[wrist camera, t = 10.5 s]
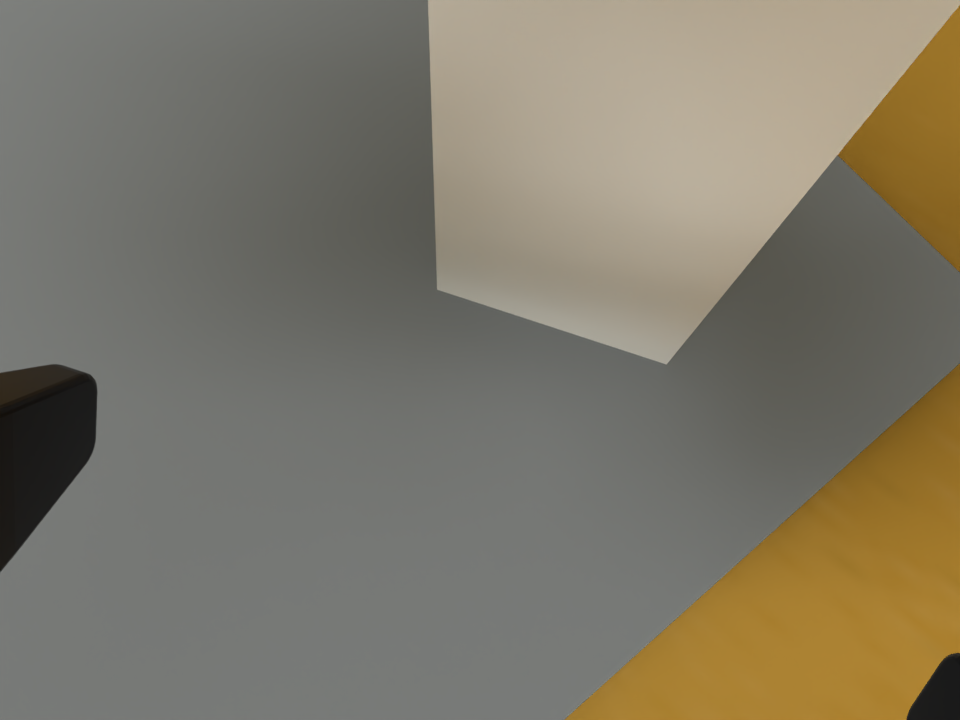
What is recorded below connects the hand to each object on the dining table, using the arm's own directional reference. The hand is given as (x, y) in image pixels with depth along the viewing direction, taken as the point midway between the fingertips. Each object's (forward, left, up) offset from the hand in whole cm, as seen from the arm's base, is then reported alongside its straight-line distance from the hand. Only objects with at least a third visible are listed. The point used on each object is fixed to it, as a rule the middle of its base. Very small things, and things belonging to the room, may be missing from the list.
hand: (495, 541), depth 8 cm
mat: (+1, +9, -8) cm, 12 cm away
